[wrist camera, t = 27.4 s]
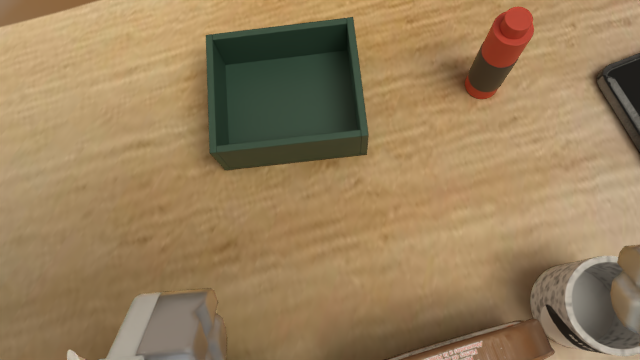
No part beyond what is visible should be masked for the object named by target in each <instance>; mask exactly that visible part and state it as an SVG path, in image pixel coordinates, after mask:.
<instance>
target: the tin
mask: <svg viewBox="0 0 640 360" xmlns="http://www.w3.org/2000/svg"><path fill="white" fill-rule="evenodd" d="M553 354H554V350H553V349H552V348H551V346H550V343H549V341H548V339H547V336H546V334H545V332H544V330H543V327H542V325H541V323H540V322H539V320H537V319H534V318H533V319H529V320H526V321H513V322H509V323H505V324H502V325H498V326H494V327H491V328H487V329H484V330H481V331H477V332H474V333H470V334H467V335H463V336H460V337H456V338H453V339H449V340H446V341H442V342H439V343H435V344H432V345H429V346H425V347H422V348H419V349H416V350H412V351H409V352H406V353H403V354H400V355H397V356H394V357H391V358H388V359H384V360H543V359H546V358H548V357H550V356H551V355H553Z"/></svg>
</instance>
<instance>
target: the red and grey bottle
mask: <svg viewBox="0 0 640 360" xmlns="http://www.w3.org/2000/svg"><path fill="white" fill-rule="evenodd" d="M532 22H533V17H532V14H531V13H530V12H529V11H528V10H527V9H525V8H523V7H513V8H511V9H509V10H508V11H507V12H504V13H502V14H500V15H499V16H498V17H497V18H496V19H495V21H494V23H493V25H492V27H491V29H490V31H489V33H488V35H487V37H486V39H485V41H484V42H483V44H482V46H481V48H480V50H479V52H478V54H477V56H476V58H475V60H474V62H473V64H472V66H471V68H470V70H469V73H468V76H467V78H466V80H465V87H466V90H467V92H468V93H469V94H470V95H471V96H473V97H475V98H478V99H486V98H489V97H491V96H493V95H494V94H495V92H496V91H497V89H498V88H499V87H500V86H501V84H502V83H503V81H504V80H505V78H506V77H507V75H508V74H509V72H510V71H511V69H512V68H513V66H514V65H515V63H516V61H517V60H518V58H519V56H520V54H521V53H522V51H523V50H524V48H525V47H526V45H527V44H528V42H529V41H530V39H531V37H532V36H533V32H534V27H533V23H532Z"/></svg>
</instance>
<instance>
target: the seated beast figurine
mask: <svg viewBox="0 0 640 360" xmlns="http://www.w3.org/2000/svg"><path fill="white" fill-rule="evenodd" d="M67 360H86V359H85V358H83V357H80V356H77V355H76V353H75V352H74V351H72V350H70V349H69V350H68V352H67Z"/></svg>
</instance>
